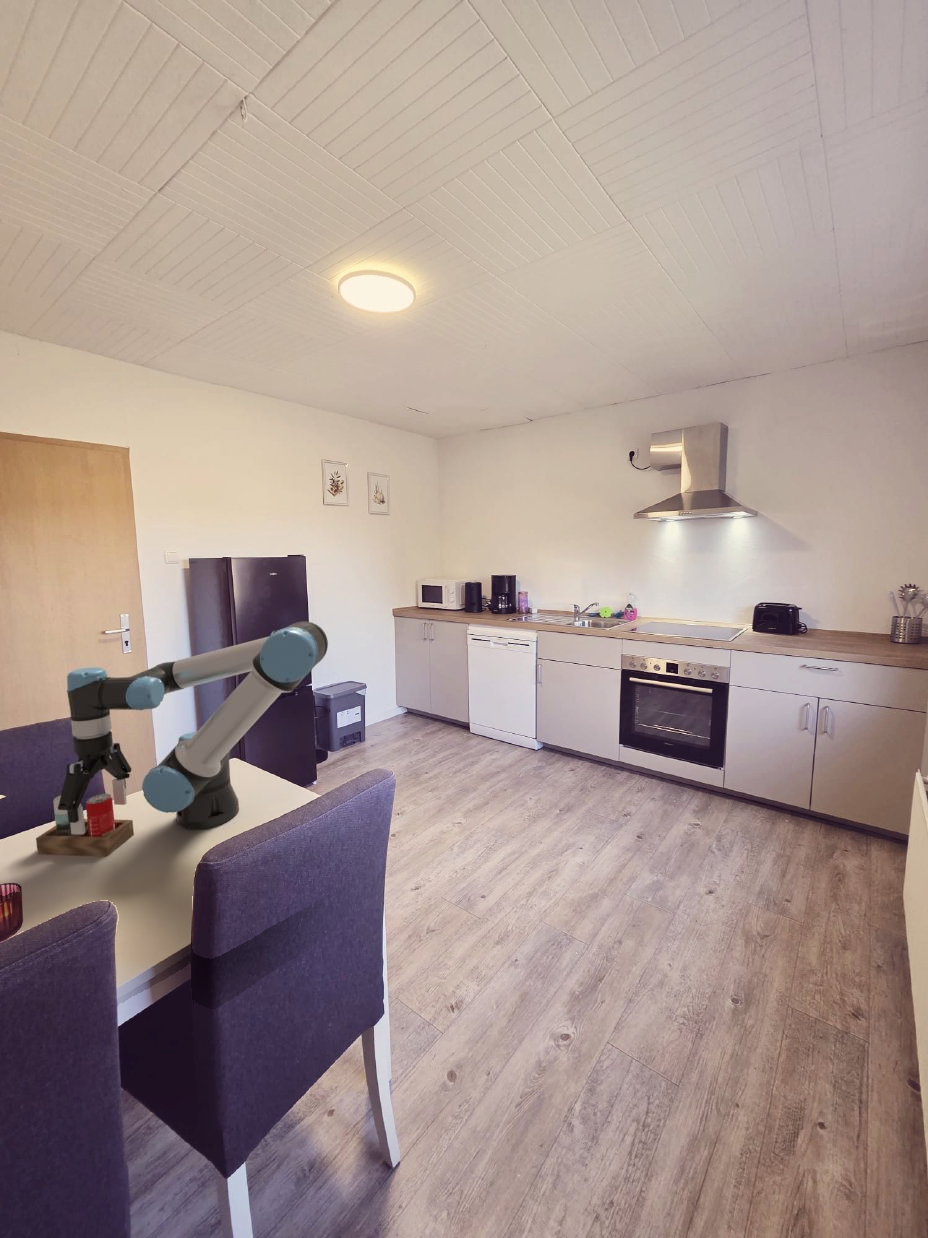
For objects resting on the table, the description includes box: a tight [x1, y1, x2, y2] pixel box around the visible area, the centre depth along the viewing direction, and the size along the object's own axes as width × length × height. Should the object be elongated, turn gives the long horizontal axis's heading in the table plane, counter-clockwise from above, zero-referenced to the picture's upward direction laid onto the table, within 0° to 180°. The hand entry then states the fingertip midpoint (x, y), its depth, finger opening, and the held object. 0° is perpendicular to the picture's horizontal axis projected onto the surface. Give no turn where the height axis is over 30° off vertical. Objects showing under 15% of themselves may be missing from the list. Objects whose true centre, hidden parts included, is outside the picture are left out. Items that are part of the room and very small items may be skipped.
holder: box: [35, 818, 135, 857], centre depth 124 cm, size 17×9×4 cm, turn 88°
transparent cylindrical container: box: [52, 794, 82, 836], centre depth 124 cm, size 5×5×12 cm
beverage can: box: [85, 793, 115, 837], centre depth 123 cm, size 5×5×12 cm
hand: (100, 818), depth 123 cm, fingers open, 13 cm apart
